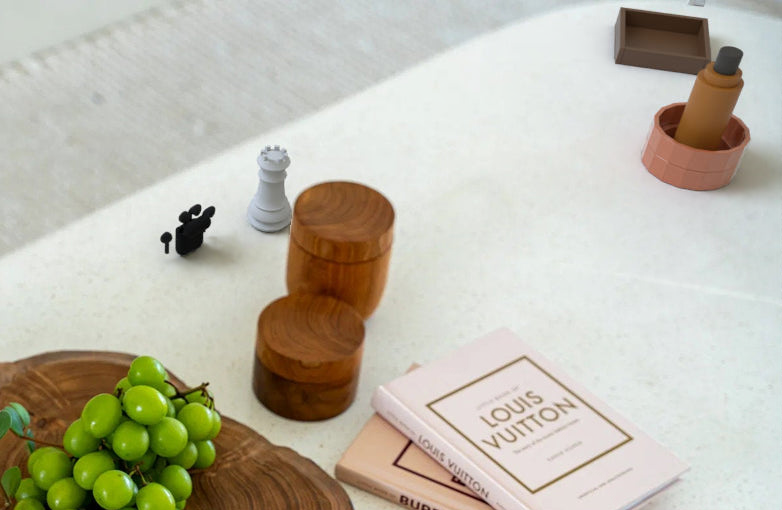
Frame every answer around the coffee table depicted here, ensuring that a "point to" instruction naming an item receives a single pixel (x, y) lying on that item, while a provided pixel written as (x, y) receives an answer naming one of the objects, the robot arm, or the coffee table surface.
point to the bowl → (692, 153)
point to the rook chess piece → (270, 192)
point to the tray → (662, 41)
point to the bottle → (712, 101)
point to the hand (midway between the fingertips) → (746, 10)
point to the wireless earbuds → (189, 230)
